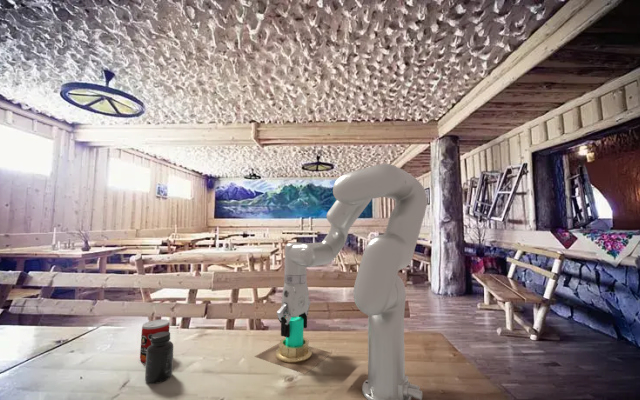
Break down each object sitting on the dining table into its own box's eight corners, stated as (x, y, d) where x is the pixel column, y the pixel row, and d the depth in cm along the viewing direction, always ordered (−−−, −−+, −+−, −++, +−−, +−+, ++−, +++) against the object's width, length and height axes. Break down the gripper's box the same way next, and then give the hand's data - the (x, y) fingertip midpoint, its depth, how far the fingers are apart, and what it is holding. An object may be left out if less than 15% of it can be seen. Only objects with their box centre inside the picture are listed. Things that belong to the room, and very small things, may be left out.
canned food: (134, 359, 90) (137, 324, 91) (158, 350, 97) (160, 317, 98) (148, 365, 86) (151, 328, 87) (172, 355, 93) (174, 321, 94)
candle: (300, 356, 87) (301, 317, 89) (282, 354, 89) (283, 316, 90) (305, 348, 93) (305, 312, 95) (288, 346, 95) (289, 310, 96)
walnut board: (331, 357, 92) (332, 352, 93) (305, 379, 79) (305, 373, 79) (285, 344, 103) (285, 339, 103) (254, 361, 89) (254, 356, 89)
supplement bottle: (166, 369, 84) (168, 328, 85) (176, 377, 79) (178, 333, 81) (140, 378, 78) (143, 334, 80) (149, 387, 74) (153, 341, 75)
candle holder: (318, 352, 93) (318, 339, 93) (297, 367, 83) (298, 353, 83) (290, 344, 99) (290, 332, 100) (267, 357, 89) (268, 344, 89)
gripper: (288, 284, 84) (287, 343, 82) (318, 276, 99) (317, 326, 97) (269, 282, 88) (268, 337, 86) (301, 274, 103) (300, 322, 101)
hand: (294, 331), depth 92 cm, fingers open, 9 cm apart
